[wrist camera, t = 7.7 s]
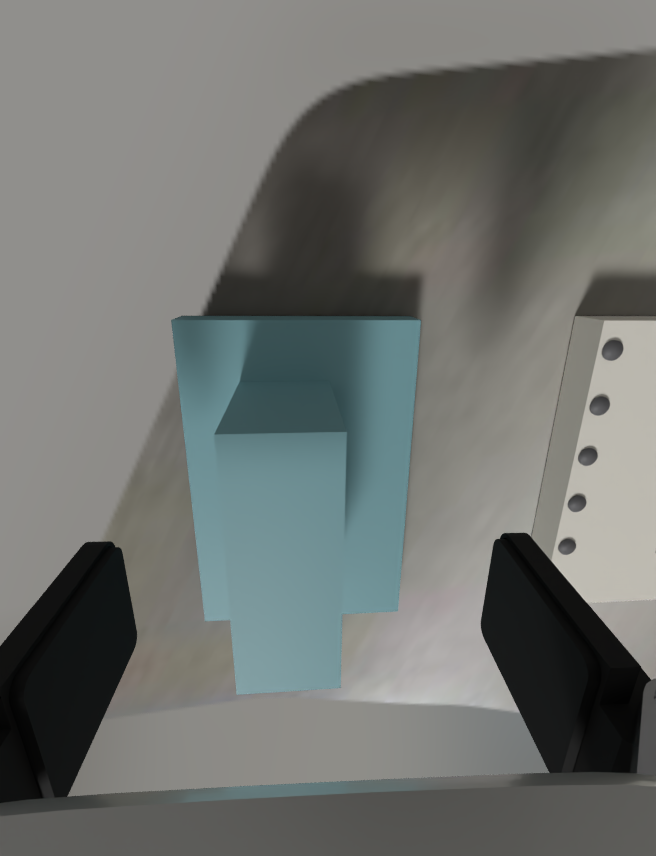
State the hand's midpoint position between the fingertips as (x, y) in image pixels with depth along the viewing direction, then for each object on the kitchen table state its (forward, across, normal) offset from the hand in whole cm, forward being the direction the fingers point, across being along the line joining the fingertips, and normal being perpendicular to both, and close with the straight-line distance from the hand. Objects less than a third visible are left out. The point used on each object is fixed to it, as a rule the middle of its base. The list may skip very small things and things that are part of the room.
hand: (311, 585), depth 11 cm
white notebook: (+7, -17, 0) cm, 18 cm away
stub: (+7, 0, 0) cm, 7 cm away
